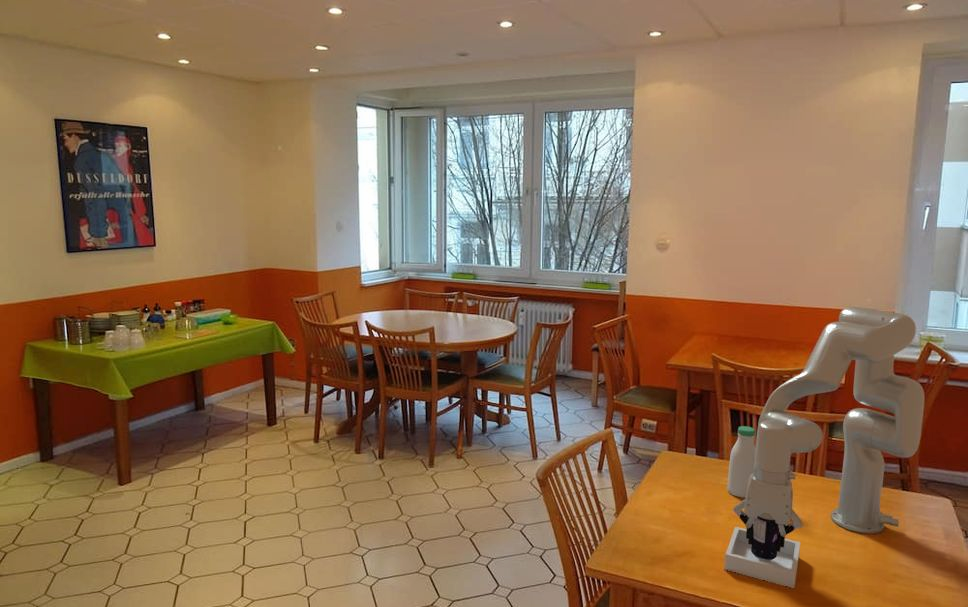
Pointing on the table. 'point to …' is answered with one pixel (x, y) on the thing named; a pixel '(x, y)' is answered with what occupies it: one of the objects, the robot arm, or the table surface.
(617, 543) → the table surface
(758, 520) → the beverage can
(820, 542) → the table surface
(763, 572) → the box
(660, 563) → the table surface
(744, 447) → the milk bottle
